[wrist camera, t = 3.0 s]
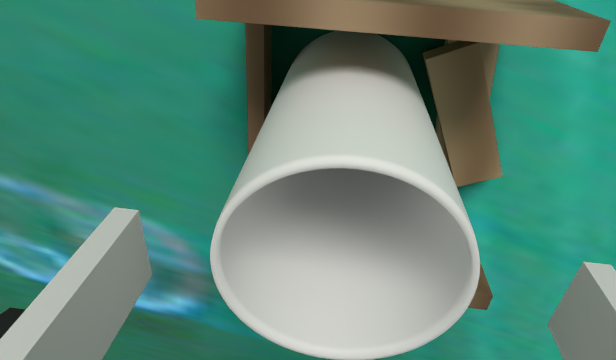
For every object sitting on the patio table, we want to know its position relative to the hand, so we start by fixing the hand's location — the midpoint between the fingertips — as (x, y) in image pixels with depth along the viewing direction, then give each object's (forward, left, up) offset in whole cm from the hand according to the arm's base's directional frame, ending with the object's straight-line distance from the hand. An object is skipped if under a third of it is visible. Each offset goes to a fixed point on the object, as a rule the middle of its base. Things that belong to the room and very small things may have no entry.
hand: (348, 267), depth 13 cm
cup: (0, 0, -16) cm, 16 cm away
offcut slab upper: (+7, 0, -15) cm, 16 cm away
